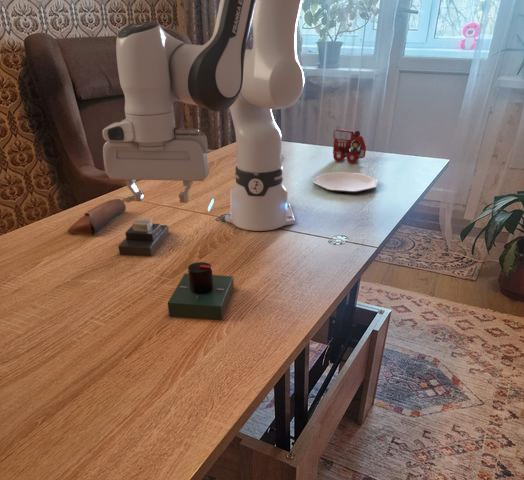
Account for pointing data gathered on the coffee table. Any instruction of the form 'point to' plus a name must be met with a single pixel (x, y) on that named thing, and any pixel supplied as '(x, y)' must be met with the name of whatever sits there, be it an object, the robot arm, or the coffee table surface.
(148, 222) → the key
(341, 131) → the toy fire truck
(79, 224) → the sunglasses case
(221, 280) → the volume panel
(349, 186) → the plate
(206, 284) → the volume dial
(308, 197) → the coffee table surface
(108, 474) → the coffee table surface
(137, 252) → the key block
